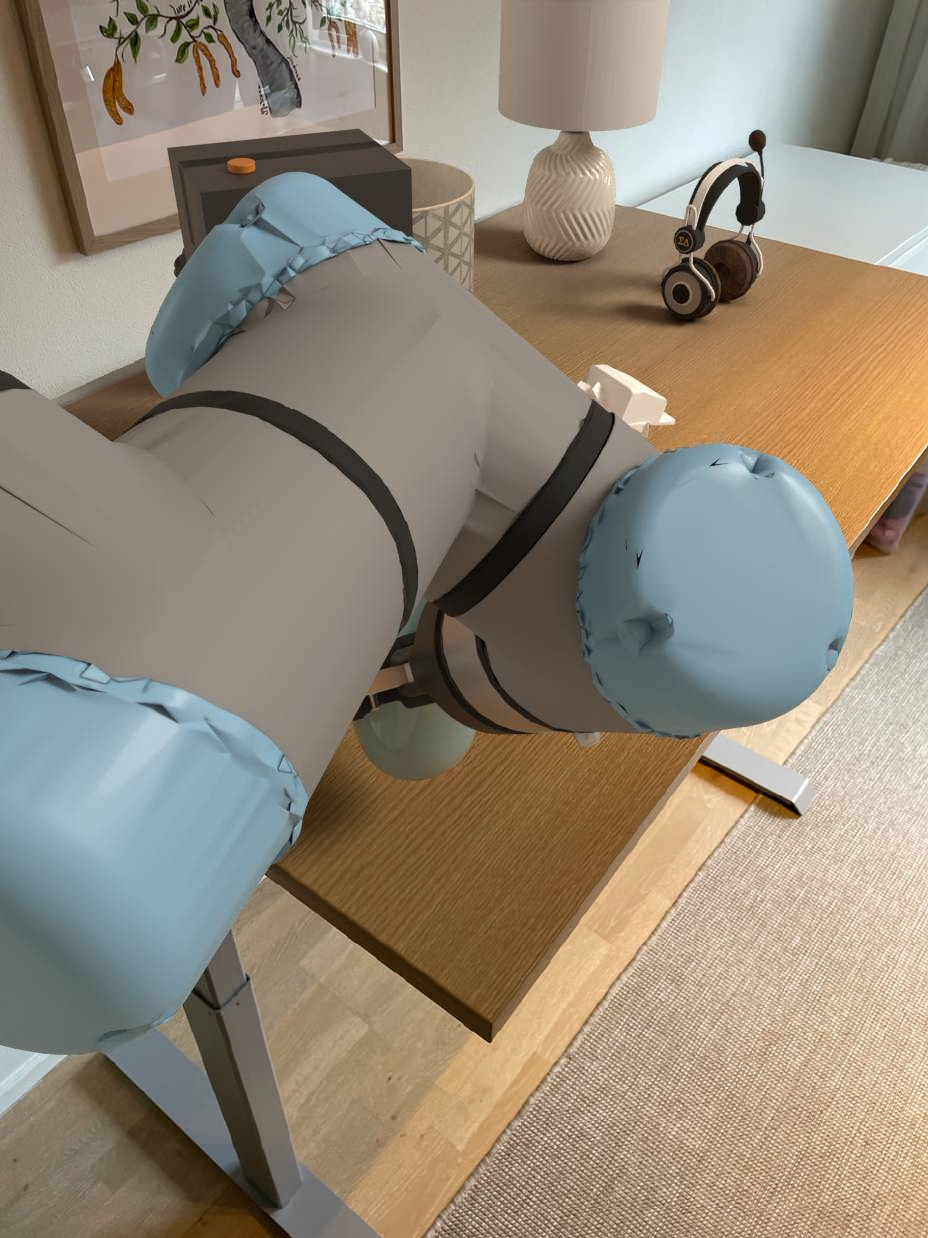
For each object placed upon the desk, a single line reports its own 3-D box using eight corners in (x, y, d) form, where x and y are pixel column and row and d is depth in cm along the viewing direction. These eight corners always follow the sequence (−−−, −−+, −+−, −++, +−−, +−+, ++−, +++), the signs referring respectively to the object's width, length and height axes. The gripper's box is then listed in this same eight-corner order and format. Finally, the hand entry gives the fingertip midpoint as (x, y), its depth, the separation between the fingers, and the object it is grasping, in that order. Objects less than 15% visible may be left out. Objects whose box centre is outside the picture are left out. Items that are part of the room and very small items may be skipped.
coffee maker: (449, 525, 87) (451, 188, 68) (274, 568, 82) (224, 216, 63) (374, 424, 100) (358, 120, 82) (219, 456, 95) (165, 139, 76)
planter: (473, 312, 122) (476, 157, 110) (469, 383, 107) (472, 213, 96) (322, 309, 122) (309, 153, 110) (297, 379, 108) (279, 208, 96)
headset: (717, 280, 131) (747, 116, 118) (768, 296, 127) (805, 129, 114) (643, 317, 121) (668, 144, 108) (697, 336, 117) (728, 158, 104)
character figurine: (542, 485, 92) (550, 366, 84) (622, 459, 96) (638, 343, 88) (597, 532, 86) (612, 409, 78) (680, 502, 90) (703, 382, 82)
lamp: (648, 279, 131) (693, -52, 107) (497, 279, 130) (508, -55, 106) (626, 227, 146) (661, -73, 122) (491, 227, 146) (499, -75, 122)
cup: (503, 765, 59) (512, 643, 53) (394, 822, 56) (389, 698, 50) (434, 689, 64) (434, 569, 58) (329, 737, 61) (317, 615, 54)
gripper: (301, 812, 35) (245, 783, 57) (768, 661, 42) (559, 686, 63) (246, 612, 35) (210, 659, 57) (719, 493, 42) (527, 575, 64)
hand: (394, 673), depth 60 cm, fingers closed on cup, 8 cm apart
